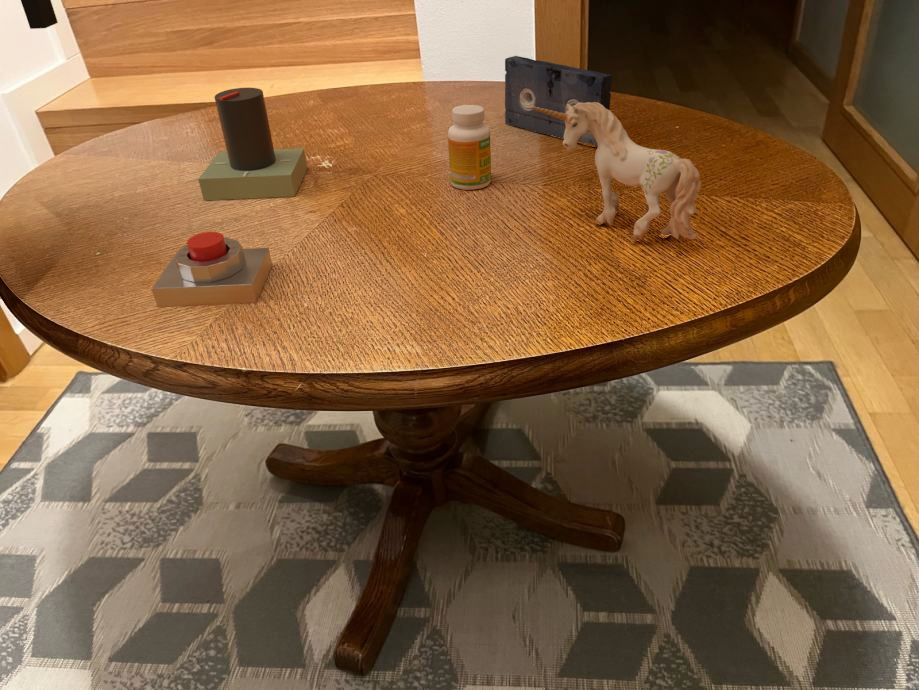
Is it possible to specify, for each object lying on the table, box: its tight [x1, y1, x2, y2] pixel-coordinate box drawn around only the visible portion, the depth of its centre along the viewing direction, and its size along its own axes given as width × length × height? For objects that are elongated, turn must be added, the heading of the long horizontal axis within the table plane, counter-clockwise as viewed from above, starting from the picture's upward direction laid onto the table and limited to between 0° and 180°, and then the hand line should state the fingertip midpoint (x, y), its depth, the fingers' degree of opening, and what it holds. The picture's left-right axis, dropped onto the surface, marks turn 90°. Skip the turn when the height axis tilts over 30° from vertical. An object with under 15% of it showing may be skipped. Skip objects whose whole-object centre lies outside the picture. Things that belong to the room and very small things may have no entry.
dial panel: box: [197, 147, 308, 201], centre depth 99 cm, size 12×10×3 cm
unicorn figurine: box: [531, 102, 702, 242], centre depth 80 cm, size 7×20×13 cm, turn 56°
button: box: [186, 231, 227, 261], centre depth 74 cm, size 4×4×2 cm
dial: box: [214, 87, 276, 171], centre depth 95 cm, size 6×6×9 cm
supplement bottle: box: [447, 104, 492, 191], centre depth 94 cm, size 5×5×10 cm
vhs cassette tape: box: [504, 55, 613, 146], centre depth 108 cm, size 18×3×10 cm, turn 42°
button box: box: [151, 236, 273, 308], centre depth 75 cm, size 10×8×4 cm
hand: (44, 25), depth 73 cm, fingers closed
